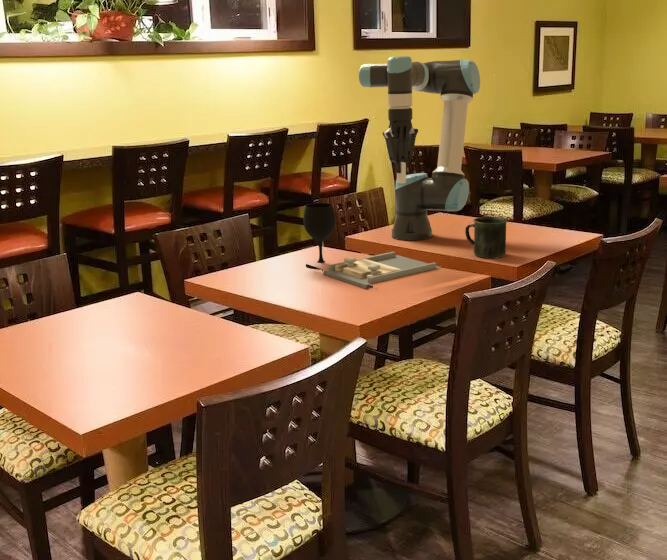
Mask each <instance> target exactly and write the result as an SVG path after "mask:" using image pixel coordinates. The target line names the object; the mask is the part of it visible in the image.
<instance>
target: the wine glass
mask: <svg viewBox="0 0 667 560" xmlns="http://www.w3.org/2000/svg"><path fill="white" fill-rule="evenodd" d="M302 219H303V227H304V229H305V231H306V233H307V235H309V236H310V237H311V238H312V239H313V240H315V241H316V242H317V244H318V252H319V253H318V255H319V256H318V257H319V258H318V261H316V263H318V264H325V263H326V261H325V260H324V257H323V243H324V241H325V240H327V238H329V236H331V234H332V233H333V231H334V229H335V226H336V213H335V209H334V206H333V204H332V203H329V202H317V203H316V202H314V203H308V204H306V205H305V206H304V209H303V217H302ZM305 268H307V269H311V270H321V268H320V267H318V266H313V265H311V264H309V263H306V264H305Z"/></svg>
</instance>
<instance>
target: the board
mask: <svg viewBox="0 0 667 560" xmlns="http://www.w3.org/2000/svg"><path fill="white" fill-rule="evenodd" d="M362 259H367V260H371V261H374V262H378V263H381V264H385V265H388V266H391V267H395V268H398V269H401V270H399V271H394V272H390V273H386V274H381V275H377V276H372V277H368V281H367V277H366V278H362V279H360V278H357V277H354V276H351V275H348V274H345V273H343V270H341V271H336V270H335V265H339V264H343V263H347V267H350V266H354V262H356V261H358V260H362ZM328 267H329V269H326V270H322V273H323V275H324V276H326V277H328V278H329V277H330V278H332V277H333V279H335V278H336V279H335V280H338V279H339V280H338V281H341V280H342V281H341V282H344V281H345V282H344V283H347V282H348V283H347V284H350V283H351V284H350V285H353V284H354V286H356V285H357V286H356V287H359V286H360V287H359V288H362V287H363V288H362V289H364V288H368V289H370V288H369V287H372V288H374V287H373V286H374V285H373V284H378V283H381V282H385V281H390V280H393V279H398V278H402V277H407V276H412V275H415V274H420V273H423V272H427V271H432V270H437V269H441V268H442V266H439V265H437V262H429V263H428V262H424V261H421V260H417V259H413V258H409V257H405V256H402V255H399V254H396V251H389V252H385V253H380V254H376V255H371V256H367V257H362V258H356V257H354V256H353V257H352V256H351V257H350V256H349V257H345V258H344V259H343V261H342V262H337V263H333V264H329V265H328ZM368 269H369V270H371V274H376V273H377V270H378V269H380V265H378V264H371V265H368Z"/></svg>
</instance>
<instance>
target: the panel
mask: <svg viewBox="0 0 667 560" xmlns="http://www.w3.org/2000/svg"><path fill="white" fill-rule="evenodd" d="M371 264H378V265H380V269H378V270H377V273H376V274H371V270H369V269H368V265H371ZM335 270H336V271H341V270H343V273H345V274H348V275H351V276H354V277H357V278H360V279H362V278H366V277H367V281H368V277H372V276H377V275H381V274H386V273H390V272H394V271H399V270H401V269H398V268H395V267H391V266H388V265H385V264H381V263H378V262H374V261H371V260H367V259H362V260H358V261H356V262H354V266H350V267H347V263H343V264H339V265H335Z"/></svg>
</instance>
